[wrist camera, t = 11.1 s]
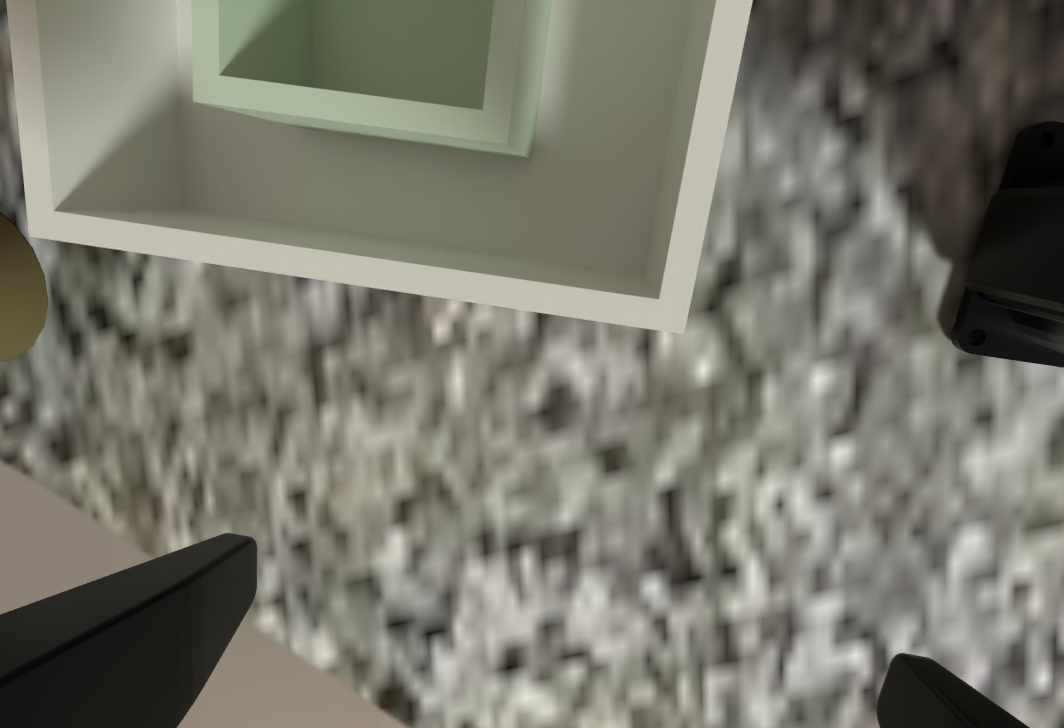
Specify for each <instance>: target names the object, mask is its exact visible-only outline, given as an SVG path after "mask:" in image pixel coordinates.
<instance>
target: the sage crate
mask: <svg viewBox="0 0 1064 728" xmlns="http://www.w3.org/2000/svg"><path fill="white" fill-rule="evenodd" d="M551 5H552V0H191V11H192V64H193V102H197V103H201V104H205V105H209V106H213V107H217V108H221V109H226V110H230V111H234V112H238V113H242V114H246V115H250V116H254V117H258V118H262V119H266V120H270V121H274V122H278V123H282V124H287V125H291V126H295V127H299V128H304V129H312V130H319V131H326V132H334V133H341V134H348V135H355V136H363V137H370V138H377V139H385V140H392V141H399V142H407V143H414V144H421V145H429V146H436V147H443V148H450V149H458V150H465V151H472V152H480V153H487V154H494V155H502V156H509V157H516V158H523V159H531V160H532V153H533V145H534V138H535V130H536V122H537V114H538V106H539V99H540V91H541V83H542V75H543V67H544V59H545V52H546V44H547V36H548V28H549V20H550V12H551Z"/></svg>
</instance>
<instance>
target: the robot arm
mask: <svg viewBox="0 0 1064 728" xmlns="http://www.w3.org/2000/svg"><path fill="white" fill-rule="evenodd" d="M1038 134H1042V135H1043V137H1044V144H1043V146H1042V147H1041V149H1039V150H1037V149H1036V148H1035V146H1034V140H1035V138H1036V136H1037V135H1038ZM965 282H966V284H967V287H966V290H965V293H964V296H963V300H962V303H961V306H960V309H959V312H958V315H957V318H956V321H955V324H954V327H953V330H952V334H951V340H952V343H953V345H954V346H955V347H956V348H957V349H960V350H962V351H965V352H967V353H970V354H976V355H983V356H989V357H996V358H1003V359H1010V360H1017V361H1023V362H1030V363H1037V364H1044V365H1051V366H1057V367H1064V123H1061V122H1053V121H1049V122H1040V123H1034V124H1031V125H1029V126H1027V127H1025V128H1024V129H1023V130H1022V131H1021V132H1020V133H1019V134H1018V136H1017V138H1016V140H1015V143H1014V146H1013V149H1012V152H1011V155H1010V158H1009V161H1008V164H1007V167H1006V170H1005V173H1004V176H1003V179H1002V182H1001V185H1000V188H999V191H998V193H996V194H995V195H994V196H993V197H992V198H991V201H990V204H989V207H988V210H987V213H986V216H985V219H984V222H983V225H982V228H981V231H980V234H979V237H978V240H977V244H976V247H975V250H974V253H973V256H972V259H971V262H970V265H969V268H968V271H967V274H966V277H965ZM975 329H977V331H978V336H977V338H976V339H975V340H974V341H973V342H971V343H969V342H968V335H969V334H970V332H972V331H973V330H975ZM256 589H257V544H256V541H255V540H254V539H253V538H252V537H248V536H243V535H237V534H231V533H225V534H222V535H219V536H216V537H214V538H211V539H208V540H205V541H202V542H200V543H197V544H194V545H191V546H189V547H186V548H183V549H180V550H178V551H175V552H172V553H169V554H167V555H164V556H161V557H158V558H156V559H153V560H150V561H147V562H144V563H142V564H140V565H136V566H133V567H131V568H128V569H125V570H122V571H120V572H117V573H114V574H111V575H109V576H106V577H103V578H101V579H98V580H95V581H92V582H89V583H87V584H84V585H81V586H78V587H75V588H73V589H70V590H68V591H64V592H62V593H59V594H56V595H53V596H51V597H48V598H45V599H42V600H40V601H37V602H34V603H31V604H29V605H26V606H23V607H20V608H17V609H15V610H12V611H9V612H7V613H4V614H1V615H0V728H177V727H178V725H179V724H180V722H181V721H182V720H183V718H184V716H185V715H186V713H187V712H188V711H189V709H190V708H191V706H192V705H193V703H194V702H195V700H196V698H197V697H198V695H199V694H200V692H201V690H202V689H203V687H204V686H205V684H206V682H207V680H208V679H209V677H210V675H211V674H212V672H213V670H214V668H215V667H216V665H217V663H218V661H219V660H220V658H221V656H222V655H223V653H224V651H225V649H226V647H227V646H228V644H229V642H230V641H231V639H232V637H233V636H234V634H235V632H236V630H237V628H238V627H239V625H240V623H241V622H242V620H243V618H244V617H245V615H246V613H247V611H248V610H249V608H250V606H251V604H252V602H253V600H254V597H255V594H256ZM877 719H878V723H879V726H880V728H1029V727H1028V726H1027V725H1025V724H1024V723H1022V722H1021V721H1020V720H1018V719H1017V718H1015V717H1014V716H1012V715H1011V714H1010V713H1008V712H1007V711H1005V710H1004V709H1002V708H1001V707H1000V706H998V705H997V704H995V703H994V702H993V701H991V700H990V699H988V698H987V697H985V696H984V695H983V694H981V693H980V692H978V691H977V690H976V689H974V688H973V687H971V686H970V685H968V684H967V683H966V682H964V681H963V680H961V679H960V678H958V677H957V676H956V675H954V674H953V673H951V672H950V671H949V670H947V669H946V668H944V667H943V666H941V665H940V664H939V663H937V662H936V661H934V660H933V659H930V658H927V657H922V656H916V655H911V654H905V653H900V654H897V655H896V656H895V657H894V658H893V659H892V661H891V663H890V666H889V669H888V672H887V675H886V677H885V680H884V683H883V686H882V689H881V691H880V694H879V697H878V701H877Z"/></svg>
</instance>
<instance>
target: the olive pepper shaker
mask: <svg viewBox="0 0 1064 728" xmlns="http://www.w3.org/2000/svg"><path fill="white" fill-rule="evenodd" d="M47 307H48V298H47V291H46V283H45V276H44V274H43V271H42V269H41V267H40V264H39V262H38V260H37V257H36V255H35V253H34V250H33V248H32V247H31V246H30V245H29V243H28V242H27V241H26V239H25V238H24V237H23V235H22V234H21V233H20V231H19V230H18V229H17V227H16V226H15V225H14V224H13V223H11V222H10V221H9V220H8V219H6V218H5V217H4V216H3V215H1V214H0V362H3V361H7V360H11V359H15V358H17V357H18V356H20V355H21V354H22V353H24V352H25V351H26V350H28V349H29V348H30V347H32V346H33V345H34V343H35V341H36V339H37V338H38V336H39V334H40V333H41V331H42V329H43V328H44V324H45V318H46V312H47Z"/></svg>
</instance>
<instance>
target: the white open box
mask: <svg viewBox="0 0 1064 728" xmlns="http://www.w3.org/2000/svg"><path fill="white" fill-rule="evenodd" d="M752 2H753V0H552V5H551V12H550V20H549V28H548V36H547V44H546V52H545V59H544V67H543V75H542V83H541V91H540V99H539V106H538V114H537V122H536V130H535V138H534V145H533V153H532V160H531V159H523V158H516V157H509V156H502V155H494V154H487V153H480V152H472V151H465V150H458V149H450V148H443V147H436V146H429V145H421V144H414V143H407V142H399V141H392V140H385V139H377V138H370V137H363V136H355V135H348V134H341V133H334V132H326V131H319V130H312V129H304V128H299V127H295V126H291V125H287V124H282V123H278V122H274V121H270V120H266V119H262V118H258V117H254V116H250V115H246V114H242V113H238V112H234V111H230V110H226V109H221V108H217V107H213V106H209V105H205V104H201V103H197V102H193V64H192V11H191V0H6V3H7V13H8V23H9V34H10V44H11V54H12V64H13V75H14V85H15V95H16V106H17V116H18V126H19V137H20V147H21V157H22V168H23V178H24V188H25V198H26V209H27V219H28V229H29V236H30V237H37V238H44V239H50V240H57V241H64V242H70V243H77V244H84V245H91V246H97V247H104V248H111V249H117V250H124V251H131V252H137V253H144V254H151V255H157V256H164V257H171V258H178V259H184V260H191V261H198V262H204V263H211V264H218V265H224V266H231V267H238V268H244V269H251V270H258V271H265V272H271V273H278V274H285V275H291V276H298V277H305V278H311V279H318V280H325V281H331V282H338V283H345V284H351V285H358V286H365V287H372V288H378V289H385V290H392V291H398V292H405V293H412V294H418V295H425V296H432V297H438V298H445V299H452V300H459V301H465V302H472V303H479V304H485V305H492V306H499V307H505V308H512V309H519V310H525V311H532V312H539V313H545V314H552V315H559V316H566V317H572V318H579V319H586V320H592V321H599V322H606V323H612V324H619V325H626V326H632V327H639V328H646V329H653V330H659V331H666V332H673V333H679V334H684V332H685V327H686V322H687V317H688V313H689V308H690V303H691V298H692V293H693V288H694V283H695V279H696V274H697V269H698V264H699V259H700V254H701V249H702V245H703V240H704V235H705V230H706V225H707V220H708V215H709V211H710V206H711V201H712V196H713V191H714V186H715V181H716V177H717V172H718V167H719V162H720V157H721V152H722V147H723V143H724V138H725V133H726V128H727V123H728V118H729V113H730V109H731V104H732V99H733V94H734V89H735V84H736V79H737V75H738V70H739V65H740V60H741V55H742V50H743V45H744V41H745V36H746V31H747V26H748V21H749V16H750V11H751V7H752Z"/></svg>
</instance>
